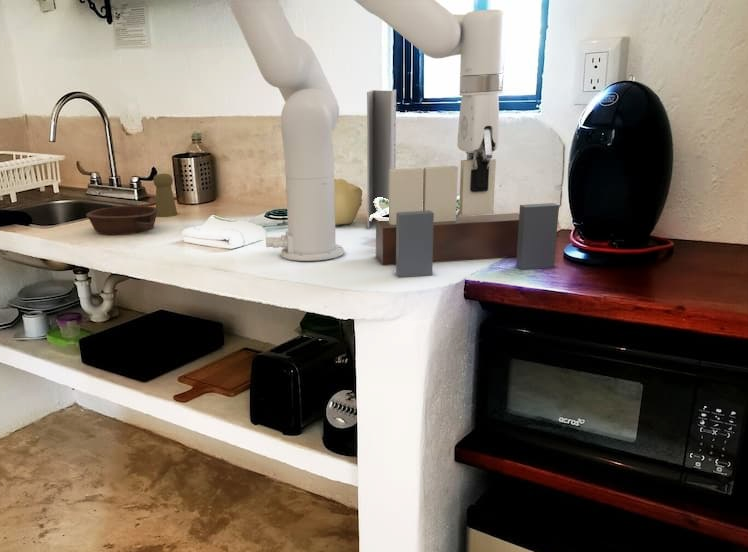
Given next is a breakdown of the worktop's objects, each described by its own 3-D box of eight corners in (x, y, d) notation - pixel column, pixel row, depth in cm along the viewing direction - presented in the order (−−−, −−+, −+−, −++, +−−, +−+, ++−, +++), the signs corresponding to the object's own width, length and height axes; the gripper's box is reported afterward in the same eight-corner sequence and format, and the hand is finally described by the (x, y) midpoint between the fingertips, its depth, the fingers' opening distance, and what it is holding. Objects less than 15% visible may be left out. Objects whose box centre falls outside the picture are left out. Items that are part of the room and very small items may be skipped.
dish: (121, 241, 180) (118, 220, 178) (70, 232, 194) (67, 212, 193) (179, 229, 191) (177, 208, 189) (127, 221, 206) (125, 202, 204)
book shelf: (382, 265, 145) (382, 228, 143) (375, 257, 152) (375, 221, 149) (528, 255, 146) (530, 219, 144) (515, 248, 153) (517, 212, 150)
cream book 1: (390, 225, 145) (390, 170, 142) (388, 223, 147) (388, 169, 143) (422, 223, 145) (423, 168, 142) (419, 221, 147) (420, 167, 144)
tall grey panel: (391, 228, 178) (392, 90, 167) (367, 228, 179) (366, 92, 168) (395, 217, 191) (396, 89, 180) (372, 218, 192) (372, 90, 181)
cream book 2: (424, 223, 145) (425, 168, 142) (422, 221, 147) (423, 167, 144) (456, 221, 146) (457, 166, 142) (453, 219, 147) (454, 165, 144)
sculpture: (369, 222, 187) (368, 176, 183) (339, 230, 179) (338, 183, 175) (331, 218, 194) (330, 175, 190) (301, 226, 186) (299, 181, 182)
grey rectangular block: (520, 269, 137) (525, 207, 133) (515, 266, 139) (519, 204, 136) (554, 267, 137) (559, 205, 133) (548, 264, 140) (553, 202, 136)
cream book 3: (462, 215, 145) (463, 161, 142) (459, 213, 147) (460, 160, 144) (493, 213, 146) (496, 159, 142) (489, 212, 147) (492, 158, 144)
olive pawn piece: (155, 213, 215) (151, 173, 211) (177, 212, 216) (173, 172, 212) (155, 217, 210) (150, 175, 206) (177, 215, 210) (173, 174, 206)
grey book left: (398, 277, 136) (399, 214, 132) (395, 273, 139) (396, 212, 135) (432, 275, 136) (433, 212, 132) (428, 271, 139) (430, 210, 135)
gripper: (448, 86, 145) (445, 186, 152) (473, 87, 131) (469, 197, 137) (487, 84, 146) (483, 183, 152) (517, 85, 131) (511, 195, 138)
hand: (476, 189), depth 145 cm, fingers closed on cream book 3, 2 cm apart
